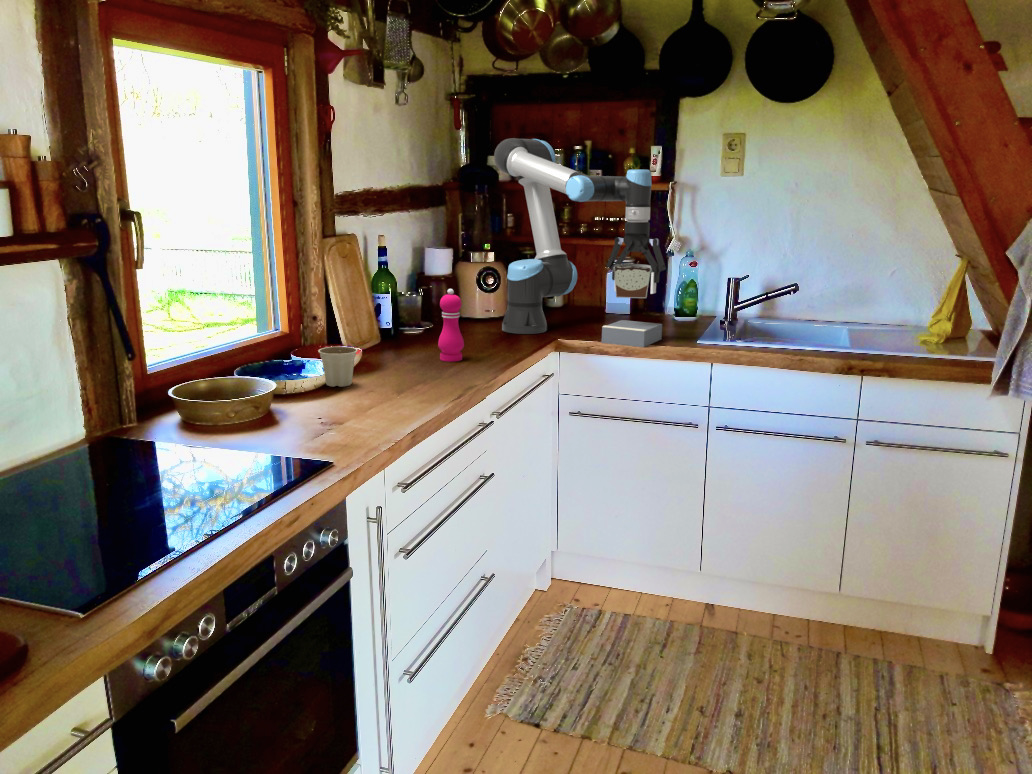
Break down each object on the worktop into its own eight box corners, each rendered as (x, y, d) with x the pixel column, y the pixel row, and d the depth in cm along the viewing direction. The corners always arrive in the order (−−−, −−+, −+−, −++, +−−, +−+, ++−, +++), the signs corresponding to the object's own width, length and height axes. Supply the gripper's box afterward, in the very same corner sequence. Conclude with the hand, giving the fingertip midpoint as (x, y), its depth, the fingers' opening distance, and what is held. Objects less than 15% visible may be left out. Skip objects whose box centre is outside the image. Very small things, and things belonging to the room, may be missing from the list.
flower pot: (365, 381, 208) (364, 347, 206) (346, 390, 199) (345, 355, 197) (332, 378, 211) (331, 345, 208) (312, 387, 202) (310, 352, 200)
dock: (601, 342, 261) (602, 326, 260) (621, 334, 275) (621, 319, 273) (643, 347, 254) (644, 330, 253) (661, 339, 268) (662, 323, 267)
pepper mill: (449, 355, 239) (448, 286, 234) (469, 358, 235) (468, 288, 230) (433, 359, 234) (432, 288, 229) (452, 363, 230) (452, 291, 225)
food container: (649, 295, 264) (651, 264, 262) (651, 298, 258) (652, 265, 256) (610, 294, 265) (611, 263, 262) (611, 297, 259) (612, 265, 256)
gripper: (597, 220, 258) (595, 290, 263) (670, 222, 247) (667, 295, 252) (606, 220, 264) (604, 288, 269) (678, 221, 253) (675, 293, 258)
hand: (634, 292), depth 261 cm, fingers closed on food container, 11 cm apart
